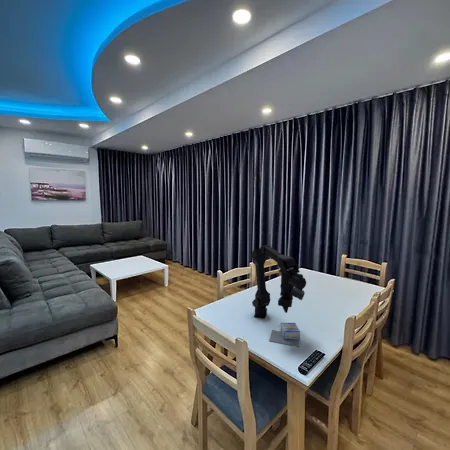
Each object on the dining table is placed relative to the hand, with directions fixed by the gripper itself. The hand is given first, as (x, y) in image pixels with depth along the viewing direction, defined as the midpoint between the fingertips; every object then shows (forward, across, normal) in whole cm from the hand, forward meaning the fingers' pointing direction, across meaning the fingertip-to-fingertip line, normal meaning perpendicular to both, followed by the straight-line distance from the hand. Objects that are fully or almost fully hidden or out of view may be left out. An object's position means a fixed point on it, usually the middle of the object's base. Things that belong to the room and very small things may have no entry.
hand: (286, 312), depth 122 cm
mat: (+12, -3, 0) cm, 13 cm away
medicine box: (+10, +4, 0) cm, 11 cm away
